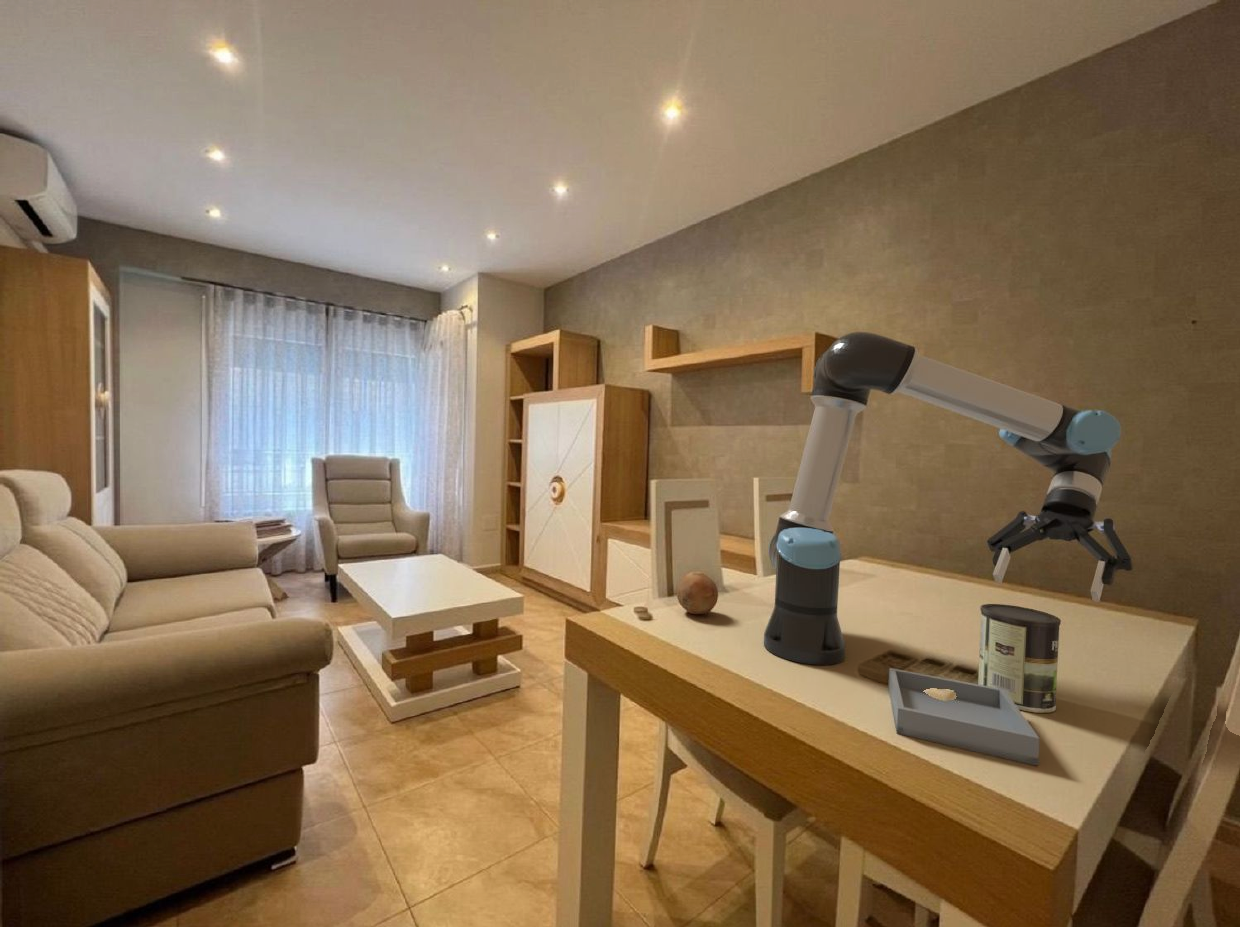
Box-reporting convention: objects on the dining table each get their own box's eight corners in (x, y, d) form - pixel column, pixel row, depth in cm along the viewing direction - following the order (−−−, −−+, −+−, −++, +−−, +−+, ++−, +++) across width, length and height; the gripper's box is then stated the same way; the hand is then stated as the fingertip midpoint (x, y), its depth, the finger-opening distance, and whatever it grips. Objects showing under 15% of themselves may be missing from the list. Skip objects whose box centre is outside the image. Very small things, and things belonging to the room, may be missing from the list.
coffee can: (1049, 695, 85) (1053, 611, 84) (1062, 720, 76) (1067, 627, 76) (974, 678, 90) (978, 599, 90) (978, 700, 81) (982, 613, 81)
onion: (723, 613, 123) (725, 571, 123) (707, 623, 114) (709, 579, 114) (687, 605, 128) (689, 565, 128) (669, 614, 120) (671, 572, 120)
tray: (896, 733, 70) (897, 708, 70) (888, 688, 84) (889, 667, 84) (1038, 766, 63) (1039, 738, 63) (1003, 712, 78) (1004, 689, 78)
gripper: (1167, 521, 89) (1146, 619, 80) (998, 507, 109) (967, 585, 101) (1163, 491, 86) (1140, 590, 77) (990, 483, 106) (957, 560, 98)
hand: (1042, 587), depth 89 cm, fingers open, 13 cm apart
